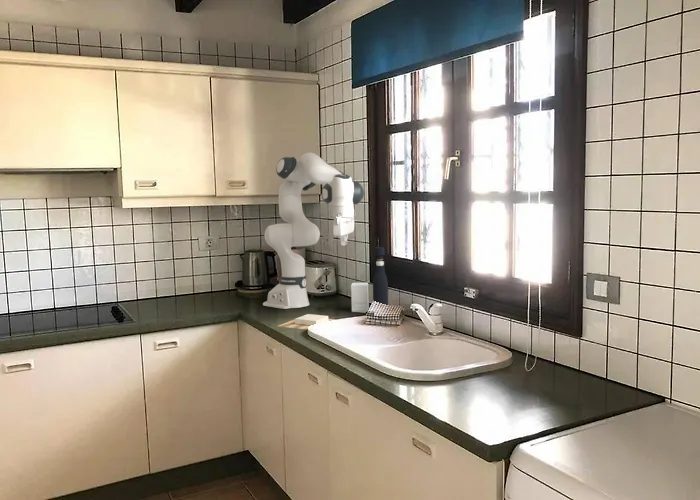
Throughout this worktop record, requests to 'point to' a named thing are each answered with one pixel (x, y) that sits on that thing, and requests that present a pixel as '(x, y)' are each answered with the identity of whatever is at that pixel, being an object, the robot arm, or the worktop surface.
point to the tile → (311, 319)
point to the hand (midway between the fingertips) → (344, 245)
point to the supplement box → (359, 297)
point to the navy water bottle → (380, 279)
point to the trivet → (296, 325)
